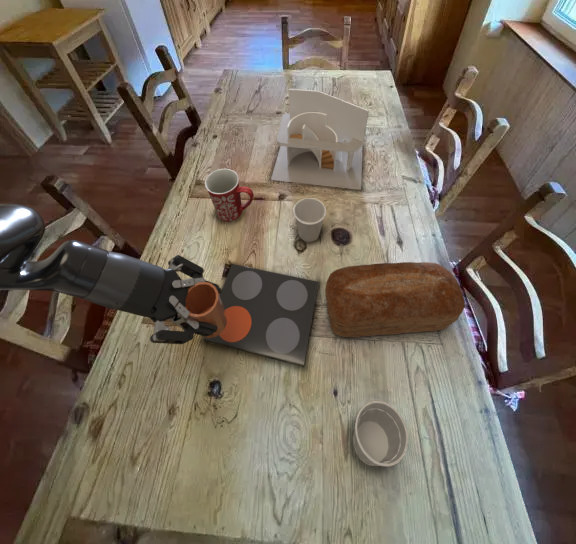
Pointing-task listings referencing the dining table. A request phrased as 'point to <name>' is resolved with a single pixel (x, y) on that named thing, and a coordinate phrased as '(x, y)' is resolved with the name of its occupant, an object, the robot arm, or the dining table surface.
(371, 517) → the dining table surface
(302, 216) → the dixie cup
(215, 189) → the mug
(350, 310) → the bread
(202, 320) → the cup
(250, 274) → the stove
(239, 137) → the dining table surface
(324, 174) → the architectural model
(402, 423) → the cup
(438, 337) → the dining table surface
